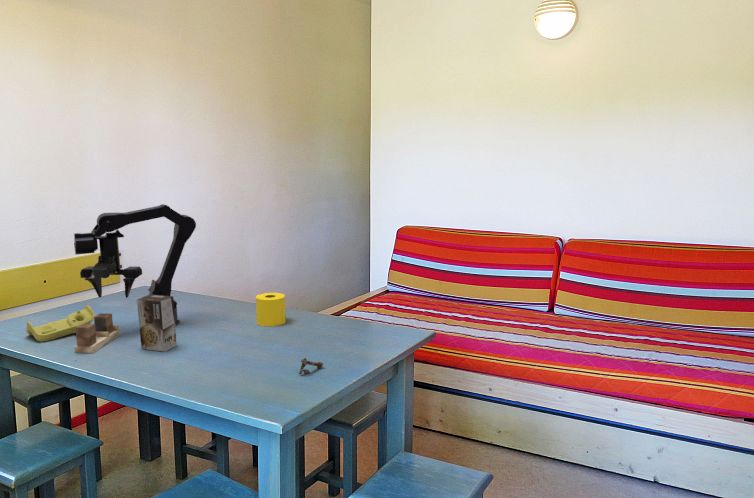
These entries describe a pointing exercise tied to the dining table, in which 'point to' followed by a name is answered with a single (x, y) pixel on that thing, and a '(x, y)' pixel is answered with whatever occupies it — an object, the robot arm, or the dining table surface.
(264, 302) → the yellow hollow cylinder
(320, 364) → the brown triangular bracket
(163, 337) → the coffee box
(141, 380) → the dining table surface
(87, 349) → the rail
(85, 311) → the plastic component
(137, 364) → the dining table surface
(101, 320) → the walnut finger
